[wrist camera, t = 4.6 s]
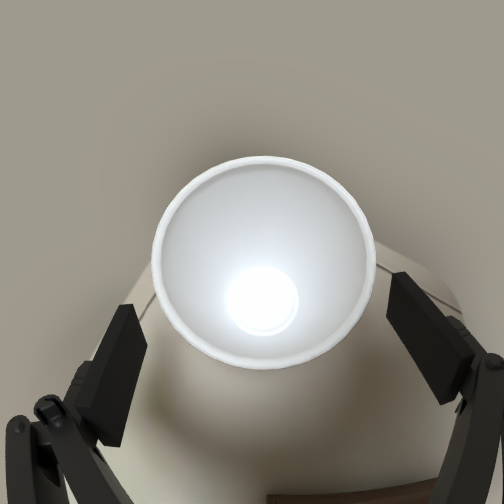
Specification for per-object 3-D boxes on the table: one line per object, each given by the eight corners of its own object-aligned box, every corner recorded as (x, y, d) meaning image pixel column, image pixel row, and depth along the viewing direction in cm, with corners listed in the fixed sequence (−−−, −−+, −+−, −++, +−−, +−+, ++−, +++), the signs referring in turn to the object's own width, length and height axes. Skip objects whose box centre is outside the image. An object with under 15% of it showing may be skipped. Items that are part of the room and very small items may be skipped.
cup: (347, 270, 24) (400, 203, 14) (295, 389, 21) (323, 409, 11) (234, 221, 26) (218, 130, 16) (175, 330, 23) (111, 300, 13)
